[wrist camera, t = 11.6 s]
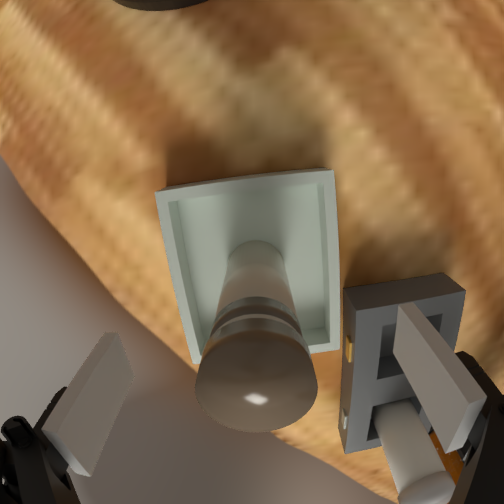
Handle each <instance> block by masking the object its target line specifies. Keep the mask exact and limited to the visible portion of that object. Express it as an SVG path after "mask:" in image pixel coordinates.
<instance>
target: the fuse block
mask: <svg viewBox="0 0 504 504" xmlns="http://www.w3.org/2000/svg"><path fill="white" fill-rule="evenodd" d="M465 293H466V290H465V289H464V288H462V287H461V286H460V285H459V284H457V283H456V282H455V281H453V280H452V279H451V278H450V277H448V276H447V275H446V274H444V273H439V274H433V275H427V276H421V277H415V278H409V279H403V280H397V281H390V282H384V283H377V284H370V285H363V286H356V287H349V288H343V355H342V379H341V397H340V412H339V425H338V429H339V433H340V437H341V441H342V445H343V449H344V453H345V454H347V453H352V452H357V451H362V450H367V449H371V448H376V447H380V446H382V444H381V441H380V439H379V436H378V433H377V430H376V428H375V425H374V422H373V420H372V417H371V413H372V408H373V406H376V405H381V404H385V403H389V402H393V401H397V400H401V399H405V398H409V397H410V399H411V401H412V403H413V405H414V407H415V409H416V411H417V413H418V415H419V417H420V419H421V421H422V423H423V424H424V426H425V428H426V430H427V432H428V433H429V431H430V428H431V423H430V421H429V419H428V417H427V415H426V413H425V411H424V409H423V407H422V405H421V403H420V401H419V400H418V398H417V396H416V394H415V392H414V390H413V388H412V386H411V384H410V383H409V381H408V379H407V377H406V375H405V373H404V372H403V370H402V368H401V366H400V364H399V363H398V361H397V359H396V357H395V355H394V354H393V348H394V340H395V332H396V324H397V315H398V305H399V304H405V303H411V302H413V303H414V304H415V305H416V306H417V307H418V309H419V310H420V311H421V312H422V313H423V315H424V316H425V317H426V318H427V319H428V321H429V322H430V323H431V324H432V325H433V327H434V328H435V329H436V330H437V331H438V333H439V334H440V335H441V336H442V338H443V339H444V340H445V341H446V343H447V344H448V345H449V346H450V348H451V349H452V350H453V352H454V349H455V345H456V341H457V336H458V332H459V327H460V322H461V317H462V311H463V306H464V300H465Z"/></svg>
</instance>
